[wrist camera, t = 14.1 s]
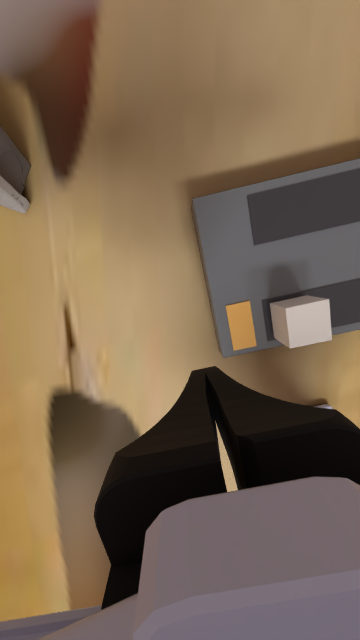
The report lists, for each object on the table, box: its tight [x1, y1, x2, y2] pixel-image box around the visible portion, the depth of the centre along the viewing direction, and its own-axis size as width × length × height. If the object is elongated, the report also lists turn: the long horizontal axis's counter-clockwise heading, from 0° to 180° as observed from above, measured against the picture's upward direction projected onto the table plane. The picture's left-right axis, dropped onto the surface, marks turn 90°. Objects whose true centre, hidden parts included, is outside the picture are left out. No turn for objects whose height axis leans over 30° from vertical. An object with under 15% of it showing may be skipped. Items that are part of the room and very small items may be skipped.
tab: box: [270, 295, 332, 349], centre depth 16 cm, size 3×3×3 cm
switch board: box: [191, 158, 360, 358], centre depth 18 cm, size 13×24×2 cm, turn 103°
